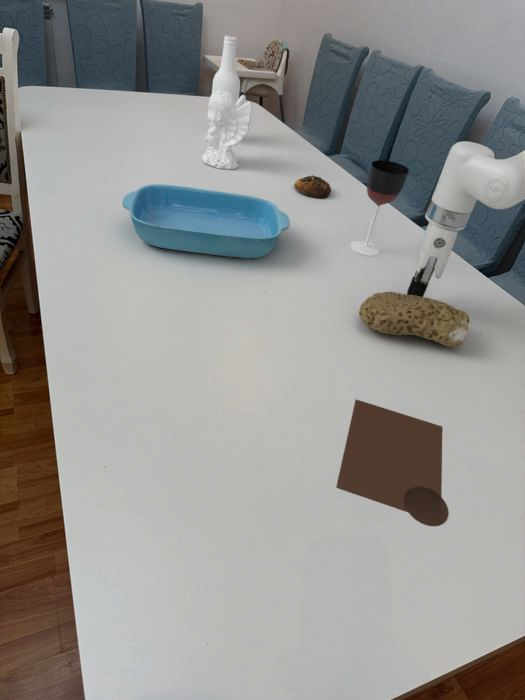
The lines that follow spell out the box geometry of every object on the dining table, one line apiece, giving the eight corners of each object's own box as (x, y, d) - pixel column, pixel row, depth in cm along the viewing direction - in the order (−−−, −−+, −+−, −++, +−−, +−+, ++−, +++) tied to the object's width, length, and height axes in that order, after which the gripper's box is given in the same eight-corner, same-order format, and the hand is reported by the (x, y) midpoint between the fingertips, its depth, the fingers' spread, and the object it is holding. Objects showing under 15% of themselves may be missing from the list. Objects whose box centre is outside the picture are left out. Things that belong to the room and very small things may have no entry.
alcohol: (204, 138, 167) (211, 35, 148) (214, 132, 174) (222, 32, 155) (228, 144, 166) (239, 41, 147) (237, 138, 173) (249, 38, 154)
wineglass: (388, 253, 121) (416, 173, 109) (361, 258, 117) (387, 175, 105) (368, 238, 126) (392, 159, 114) (341, 242, 122) (363, 161, 110)
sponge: (454, 332, 101) (368, 285, 102) (478, 308, 95) (385, 258, 96) (442, 377, 93) (349, 326, 94) (467, 354, 87) (366, 300, 88)
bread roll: (321, 201, 140) (323, 183, 137) (286, 193, 144) (288, 176, 141) (337, 192, 148) (339, 175, 145) (304, 185, 152) (305, 169, 149)
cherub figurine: (199, 152, 156) (204, 82, 144) (238, 155, 159) (246, 87, 147) (203, 168, 147) (209, 94, 134) (245, 171, 149) (254, 99, 137)
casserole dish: (281, 224, 125) (286, 197, 121) (288, 270, 108) (295, 241, 103) (131, 207, 120) (131, 178, 116) (115, 252, 103) (113, 220, 99)
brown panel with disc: (355, 399, 80) (355, 399, 80) (448, 428, 78) (448, 428, 78) (334, 493, 65) (335, 493, 65) (448, 532, 63) (448, 532, 63)
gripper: (469, 235, 86) (430, 320, 97) (467, 204, 97) (433, 284, 109) (426, 224, 87) (393, 309, 98) (429, 195, 98) (399, 274, 110)
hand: (414, 296), depth 103 cm, fingers closed
